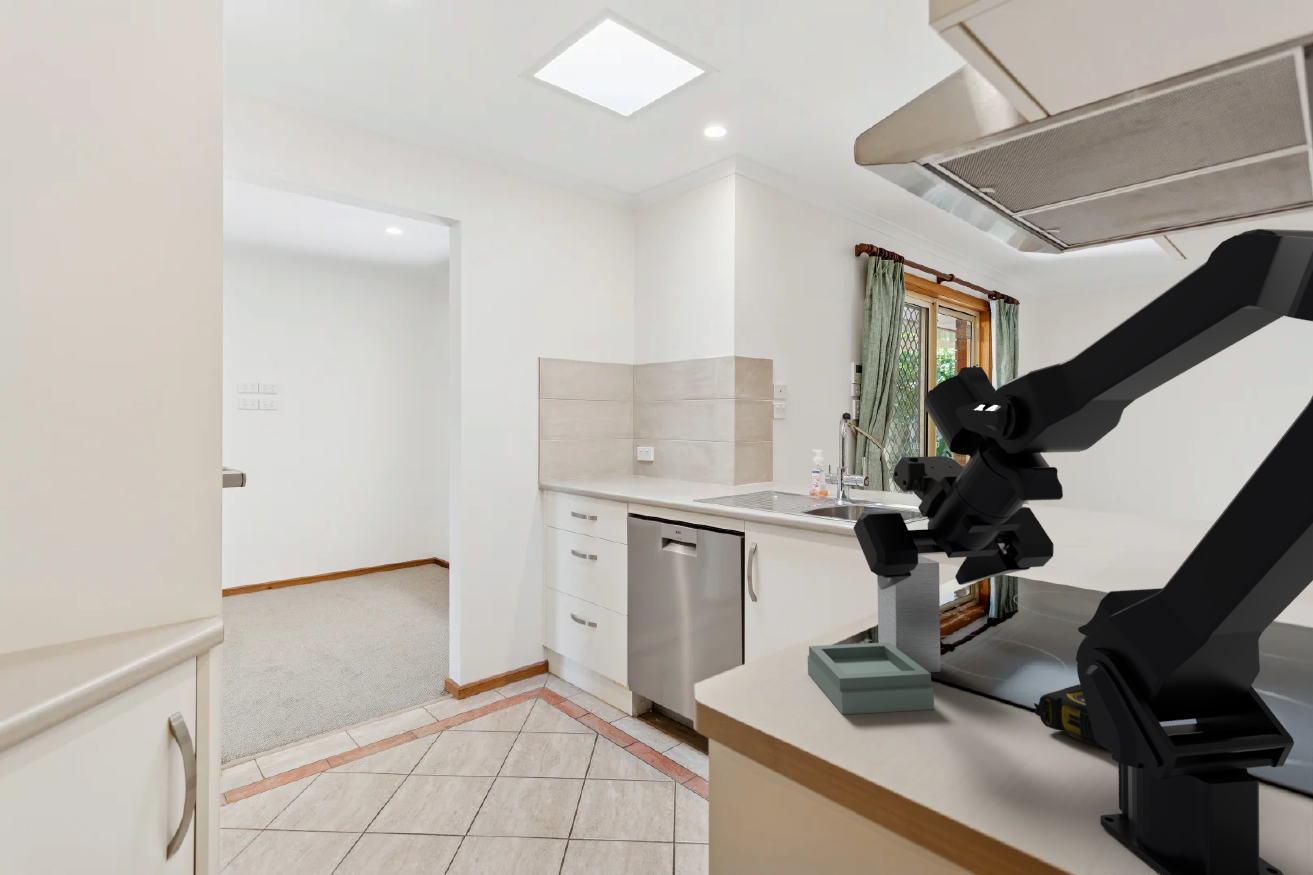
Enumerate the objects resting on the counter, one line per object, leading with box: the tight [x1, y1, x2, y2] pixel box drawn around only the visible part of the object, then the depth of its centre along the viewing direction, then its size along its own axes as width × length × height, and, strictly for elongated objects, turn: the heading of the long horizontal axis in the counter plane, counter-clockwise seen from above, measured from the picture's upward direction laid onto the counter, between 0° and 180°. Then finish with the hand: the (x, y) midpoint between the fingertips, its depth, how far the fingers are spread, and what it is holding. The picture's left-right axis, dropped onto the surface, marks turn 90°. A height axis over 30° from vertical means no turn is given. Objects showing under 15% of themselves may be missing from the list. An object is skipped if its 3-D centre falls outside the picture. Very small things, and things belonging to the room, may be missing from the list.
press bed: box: [807, 642, 935, 715], centre depth 65 cm, size 10×9×3 cm
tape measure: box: [1033, 683, 1102, 747], centre depth 54 cm, size 7×7×4 cm
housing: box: [877, 555, 941, 673], centre depth 71 cm, size 4×5×14 cm
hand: (919, 583), depth 69 cm, fingers open, 9 cm apart
